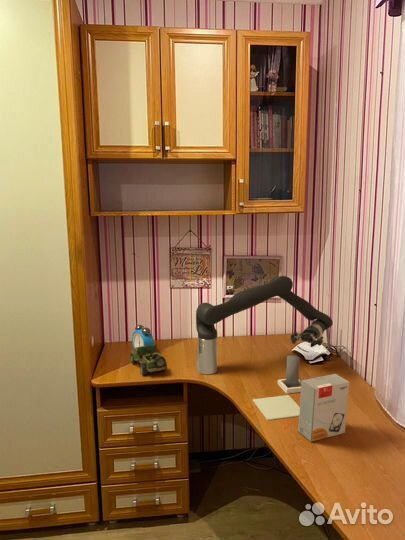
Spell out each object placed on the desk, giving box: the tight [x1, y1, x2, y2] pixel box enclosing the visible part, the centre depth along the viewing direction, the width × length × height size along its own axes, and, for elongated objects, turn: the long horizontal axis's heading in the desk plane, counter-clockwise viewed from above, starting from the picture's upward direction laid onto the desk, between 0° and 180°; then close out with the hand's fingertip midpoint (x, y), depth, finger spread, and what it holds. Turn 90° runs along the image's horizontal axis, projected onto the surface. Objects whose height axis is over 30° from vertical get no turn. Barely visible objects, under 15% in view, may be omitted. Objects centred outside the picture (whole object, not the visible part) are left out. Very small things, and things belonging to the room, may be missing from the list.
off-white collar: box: [277, 378, 302, 395], centre depth 185 cm, size 10×10×2 cm
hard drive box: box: [298, 373, 350, 443], centre depth 149 cm, size 16×8×20 cm, turn 114°
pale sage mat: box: [252, 394, 300, 421], centre depth 168 cm, size 16×16×1 cm
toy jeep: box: [129, 343, 168, 376], centre depth 206 cm, size 12×25×11 cm, turn 27°
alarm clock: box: [131, 324, 155, 349], centre depth 224 cm, size 13×6×15 cm, turn 40°
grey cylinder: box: [285, 354, 301, 388], centre depth 184 cm, size 6×6×14 cm
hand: (302, 343), depth 192 cm, fingers open, 8 cm apart
